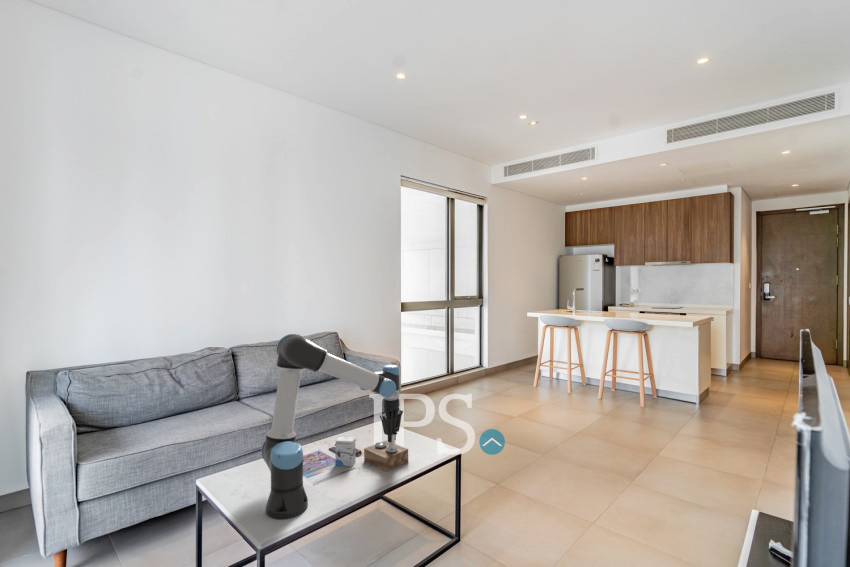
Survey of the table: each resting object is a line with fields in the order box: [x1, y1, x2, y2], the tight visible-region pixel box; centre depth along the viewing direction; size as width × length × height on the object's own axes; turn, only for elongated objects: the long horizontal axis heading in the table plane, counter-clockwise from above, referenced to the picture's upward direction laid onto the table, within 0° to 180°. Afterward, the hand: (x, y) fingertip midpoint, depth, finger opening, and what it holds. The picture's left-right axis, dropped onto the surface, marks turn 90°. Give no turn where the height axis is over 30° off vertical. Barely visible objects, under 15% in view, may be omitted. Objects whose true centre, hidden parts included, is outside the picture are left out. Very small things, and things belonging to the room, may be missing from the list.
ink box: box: [334, 436, 356, 467], centre depth 197 cm, size 9×5×12 cm, turn 84°
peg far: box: [374, 441, 386, 449], centre depth 203 cm, size 5×5×7 cm
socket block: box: [363, 439, 409, 472], centre depth 200 cm, size 14×16×6 cm
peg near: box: [386, 447, 397, 454], centre depth 197 cm, size 5×5×7 cm
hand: (391, 448), depth 197 cm, fingers closed
